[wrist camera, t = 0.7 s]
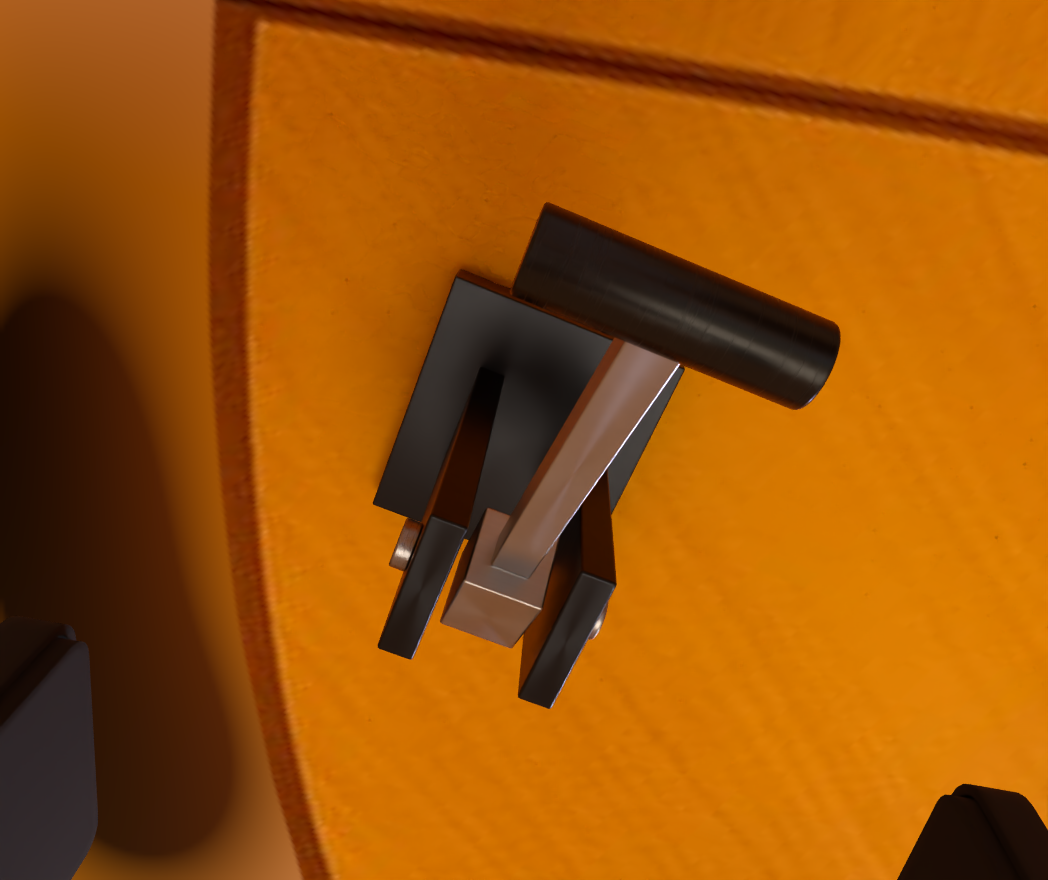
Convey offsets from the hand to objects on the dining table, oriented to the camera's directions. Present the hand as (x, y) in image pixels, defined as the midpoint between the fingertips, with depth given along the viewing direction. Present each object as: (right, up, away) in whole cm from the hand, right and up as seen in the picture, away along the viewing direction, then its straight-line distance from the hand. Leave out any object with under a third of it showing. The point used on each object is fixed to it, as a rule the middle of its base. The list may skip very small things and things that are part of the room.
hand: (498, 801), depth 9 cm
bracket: (0, +5, +24) cm, 24 cm away
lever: (+1, +4, +11) cm, 11 cm away
